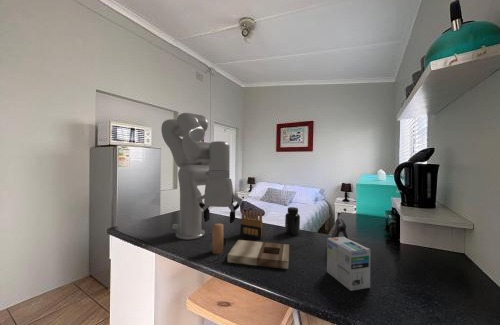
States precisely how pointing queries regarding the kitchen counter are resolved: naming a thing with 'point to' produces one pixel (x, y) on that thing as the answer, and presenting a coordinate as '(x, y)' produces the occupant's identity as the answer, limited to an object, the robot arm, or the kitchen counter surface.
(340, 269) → the light bulb box
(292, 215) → the supplement bottle
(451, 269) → the kitchen counter surface
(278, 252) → the plywood deck
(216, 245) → the peg
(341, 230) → the phone stand
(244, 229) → the ammunition clip
